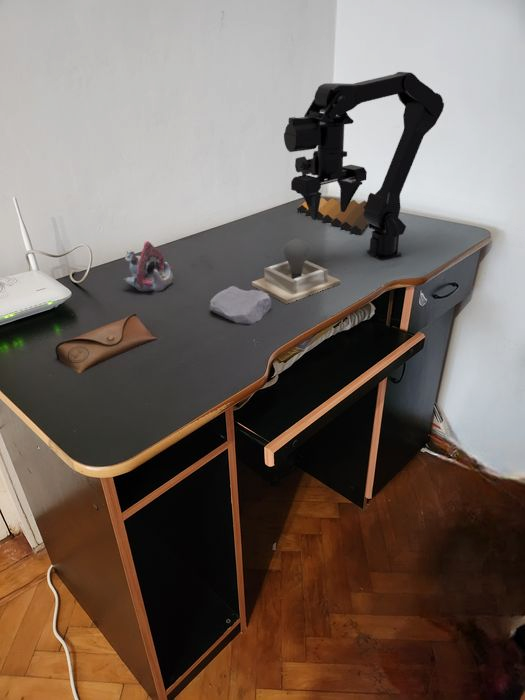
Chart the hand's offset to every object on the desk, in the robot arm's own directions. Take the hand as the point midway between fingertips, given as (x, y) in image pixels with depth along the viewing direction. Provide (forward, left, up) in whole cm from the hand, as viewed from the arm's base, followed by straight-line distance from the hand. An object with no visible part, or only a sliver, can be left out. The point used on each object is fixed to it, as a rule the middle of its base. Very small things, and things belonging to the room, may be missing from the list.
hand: (328, 215), depth 127 cm
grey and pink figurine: (+42, -11, -13) cm, 46 cm away
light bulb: (+12, +6, -12) cm, 18 cm away
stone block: (+29, +12, -14) cm, 34 cm away
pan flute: (-21, -33, -14) cm, 41 cm away
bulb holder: (+12, +6, -13) cm, 19 cm away
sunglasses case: (+57, +14, -14) cm, 60 cm away
